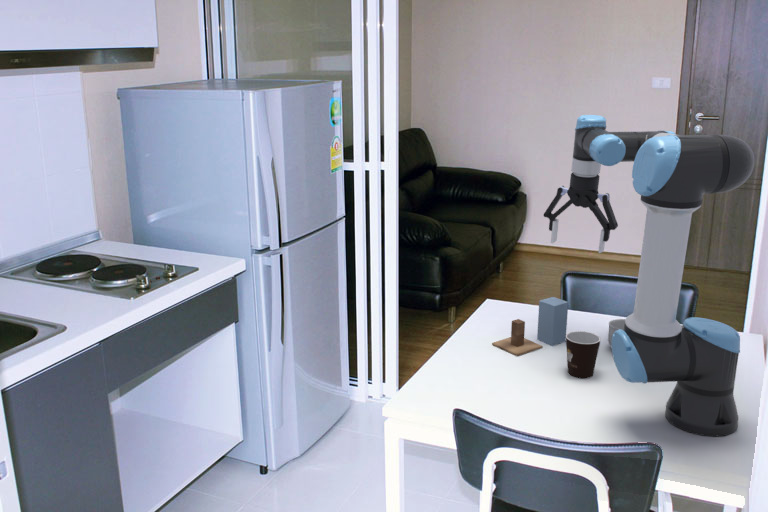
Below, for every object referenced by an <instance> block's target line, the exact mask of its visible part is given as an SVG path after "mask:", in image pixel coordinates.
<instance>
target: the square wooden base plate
mask: <svg viewBox="0 0 768 512" xmlns="http://www.w3.org/2000/svg"><path fill="white" fill-rule="evenodd" d="M525 326H526V321H525V320H522V319H520V318H517V319H514V320H511V328H510V329H511V331H510V332H511V333H510V337H509V336H508V337H506V338H504V339H503V338H502V339H500V340H497V341H494V342H492V343H491V346H493V347H496V348H498V349H500V350H502V351H504V352H506V353H508V354H511V355H514V356H515V357H519V356H523V355H526V354H528V353H531V352H535V351H537V350H540V349H543V347H544V346H543V345H541V344H539V343H537V342H535V341H532V340H529V339H527V338H526V337H525V329H526V327H525Z"/></svg>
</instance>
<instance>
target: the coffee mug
mask: <svg viewBox="0 0 768 512" xmlns="http://www.w3.org/2000/svg"><path fill="white" fill-rule="evenodd" d="M565 343H566V344H565V346H566V362H567V363H566V364H567V365H566V366H567V375H569V376H570V377H572V378H575V379H584V380H585V379H591V378H592V377H593V376H594V372H595V368H596V362H597V358H598V354H599V350H600V349H599V347H600V345H601V337H600V336H599V335H598V334H595V333H593V332H590V331H585V330H584V331H583V330H576V331H570V332H567V333H566V341H565Z"/></svg>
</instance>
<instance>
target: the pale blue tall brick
mask: <svg viewBox="0 0 768 512" xmlns="http://www.w3.org/2000/svg"><path fill="white" fill-rule="evenodd" d="M568 311H569V301H568V300H567V301H566V300H564V299H560V298H557V297H554V296H551V297H547V298H544V299H540V300H539V301H538V316H537V317H538V318H537V319H538V320H537V333H536V334H537V336H536V340H537V341H540V342H542V343H544V344H546V345H549V346H552V347H553V346H557V345H559V344H562V343H566V334H567V329H568V328H567V327H568V326H567V325H568Z"/></svg>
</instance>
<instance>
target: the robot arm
mask: <svg viewBox="0 0 768 512" xmlns="http://www.w3.org/2000/svg"><path fill="white" fill-rule="evenodd" d="M574 131H575V132H574V142H573V149H572V150H573V153H572V161H571V170H570V171H571V173H570V178H569V179H570V180H569V188H567V187H565V186H564V185H561V186H559V187H557V191H556V194H555V196H554V198H553V199H552V201H551V202H550V203H549V206H548V207H547V209H546V210H545V212H543V217H544V218H547V219H549V223H548V230H549V231H551V238H550V244H555V243H556V242H557V239H558V231H559V221H560V220H559V218H557V217H559V216H560V215H561V214H562V213H563V212H565V210H567V209H568V208H569V207H570V206H571V205H572V204H573V205H574V206H575V207H581V208H585V209H587V208H588V209H589V210H590V211H591V212H592V214H593V215H594V216H595V218H596V219H597V221H598V222H599V224H600V226H601V227H602V229H601V230H600V235H599V237H600V238H599V245H598V251H597V253H599V254H601V253H603V251H604V250H605V244H606V242H608V241H609V239H610V236H611V235H610V234H611V231H615V230H616V229H617V228H618V227H619V224H618V221H617V218H616V216H615V213H614V211H613V207H612V205H611V202H610V193H608V192H606V193H599V183H600V174H601V167H602V166H605V167H614V166H615V165H618V164H619V163H621V162H623V163H624V162H625V163H626V162H628V163H631V162H633V164H632V170H631V171H632V172H631V178H632V179H633V180H632V187H633V189H634V191H635V192H636V194H639V195H640V202H641V203H642V204H643V206H645V208H646V213H645V215H646V216H645V221H644V230H643V238H642V246H641V252H640V261H639V268H638V276H637V283H636V291H635V300H634V307H633V312H632V313H630V314H629V315H627V317H625V318H624V319H625V325H624V330H622V329H619V330H617V331H615V332H614V334H613V336H612V347H611V351H612V358H613V361H614V362H613V363H614V364H615V367H616V369H617V372H618V373H619V375H620V377H621V378H622V379H623V381H624V380H625V381H626V382H628V383H632V384H633V383H635V384H636V383H639V384H640V383H641V384H643V385H644V384H647V383H648V384H649V383H667V382H668V383H669V382H676V384H675V386H674V388H673V389H672V392H671V393H670V396H669V397H668V399H667V401H666V404H665V411H664V416H665V418H666V420H667V421H668V422H670V424H672V425H673V426H675V427H676V428H679V429H681V430H683V431H685V432H688V433H691V434H696V435H700V436H706V437H722V436H727V435H731V434H732V433H733V434H734V432H735V431H736V430H737V429H738V424H739V415H738V414H739V413H738V409H737V405H736V404H737V403H736V400H735V395H734V389H735V385H736V384H735V383H736V382H735V381H736V374H737V367H738V361H739V354H740V353H741V350H740V349H741V335H740V334H739V331H737V330H736V329H735V328H733V327H732V326H731V325H728V324H726V323H723V322H720V321H718V320H713V319H709V318H705V317H704V318H703V317H698V316H697V317H693V316H692V317H687V318H686V319H684V320H683V323H682V324H681V323H680V322H679V321H678V320H677V319H676V318H677V312H678V306H679V299H680V294H681V293H680V292H681V288H682V281H683V273H684V267H685V261H686V254H687V250H688V249H687V248H688V241H689V235H690V230H691V229H690V228H691V223H692V216H693V213H694V212H695V211H697V210H699V209H700V208H701V207H702V204H703V198H704V195H706V194H722V193H727V192H731V191H733V190H735V189H738V188H739V187H740V186H742V185H743V184H745V183H746V182H747V180H748V179H749V178H750V177H751V175H752V173H753V172H754V171H753V170H754V167H755V154H754V151H753V150H752V148H751V146H750V145H749V144H748V143H747V142H745V141H744V140H743V139H741V138H739V137H735V136H732V135H726V134H713V135H712V134H708V135H707V134H705V135H702V134H698V135H697V134H693V135H692V134H689V135H688V134H687V135H686V134H676V133H675V132H674V131H670V130H654V131H653V130H652V131H650V130H647V131H608V130H607V119H606V117H604V116H603V115H597V114H583V115H582V114H581V115H580V116H578V117H577V119H576V124H575V128H574ZM566 194H567V196H568V198H569V200H568V201H567V202H565V203H564V204H563V205H562V206H560V207H559V209H557V210H556V211H555V212H554V213H552V212H553V211H554V209H555V207H556V206H557V205H558V203H559V202H560V201H561V198H562V197H563V196H564V195H566ZM598 199H599V200H600V203H602V207H603V211H604V212H605V214H604V213H603V212H602V210H601V208H600V207H599V204H598V202H597V200H598ZM606 217H607V218H606ZM681 325H683V327H682V326H681Z"/></svg>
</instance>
